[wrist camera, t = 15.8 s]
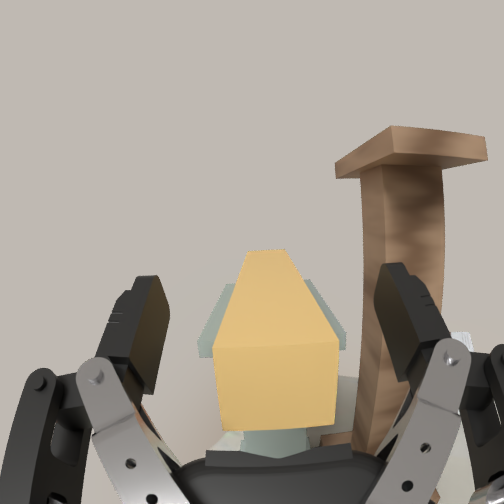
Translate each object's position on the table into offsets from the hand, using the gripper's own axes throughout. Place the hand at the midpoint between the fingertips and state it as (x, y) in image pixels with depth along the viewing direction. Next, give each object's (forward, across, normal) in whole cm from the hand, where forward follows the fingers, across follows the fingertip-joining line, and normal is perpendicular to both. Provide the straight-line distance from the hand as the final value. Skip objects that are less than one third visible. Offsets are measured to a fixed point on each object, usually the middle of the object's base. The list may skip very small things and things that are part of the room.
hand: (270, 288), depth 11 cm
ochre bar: (+5, 0, +7) cm, 9 cm away
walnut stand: (-2, -10, +27) cm, 29 cm away
